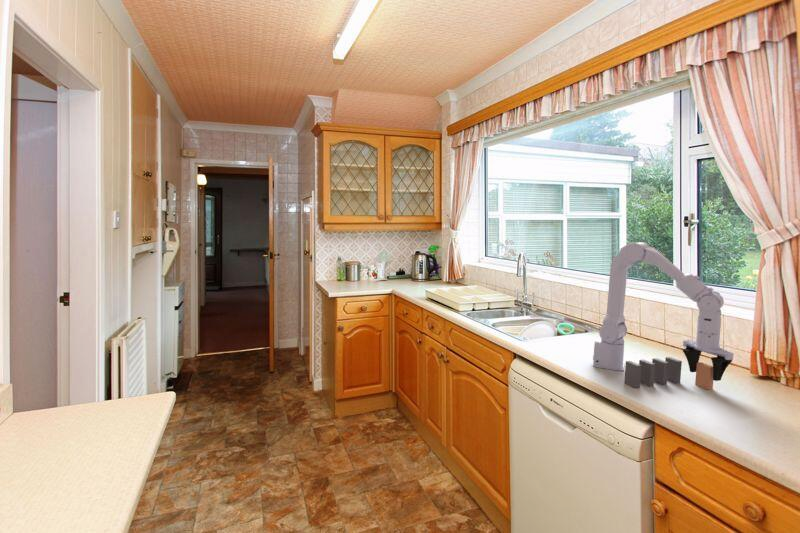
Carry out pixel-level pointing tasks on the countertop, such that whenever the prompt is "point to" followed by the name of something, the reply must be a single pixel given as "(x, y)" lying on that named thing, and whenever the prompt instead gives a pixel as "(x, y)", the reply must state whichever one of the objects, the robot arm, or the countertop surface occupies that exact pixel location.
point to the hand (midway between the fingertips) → (704, 375)
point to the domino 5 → (704, 376)
